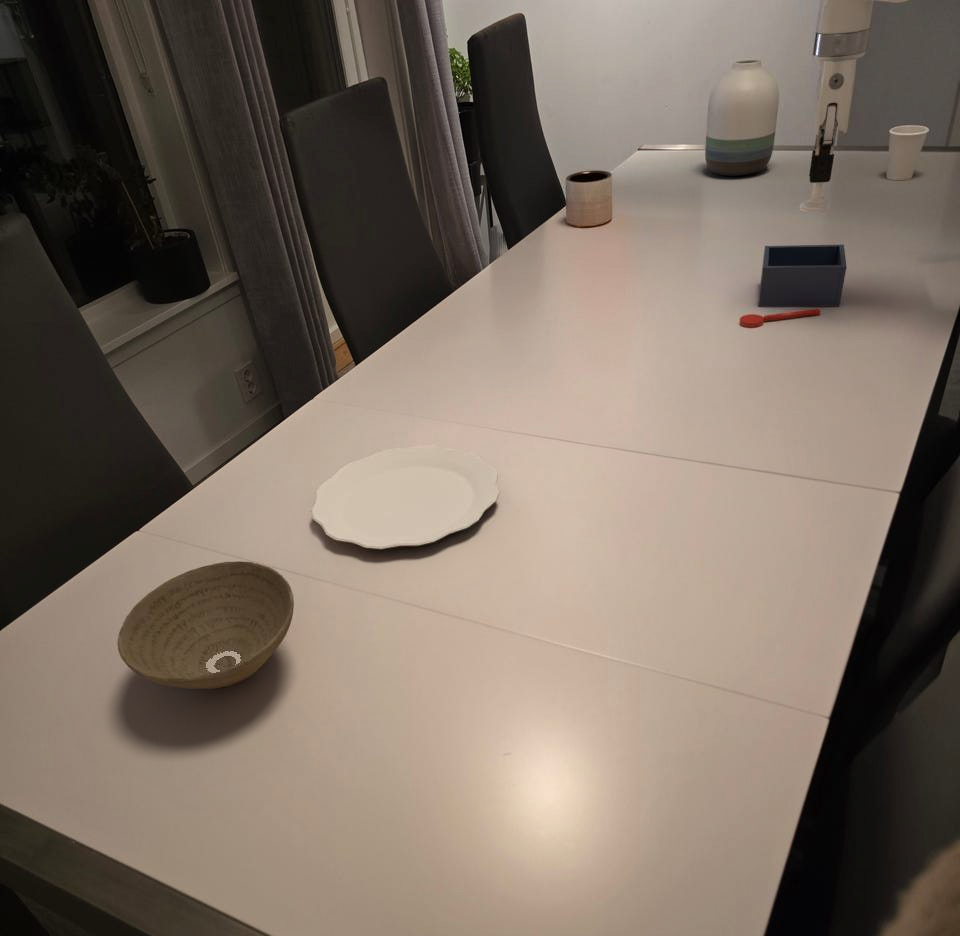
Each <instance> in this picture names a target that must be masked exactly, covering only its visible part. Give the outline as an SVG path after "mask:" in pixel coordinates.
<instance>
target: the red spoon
mask: <svg viewBox="0 0 960 936" xmlns="http://www.w3.org/2000/svg"><path fill="white" fill-rule="evenodd" d="M820 314H821V309H820V308H811V309H804V310H796V311H789V312H782V313H773V314H766V315H764V316H762V315H760V314H756V313H755V314H754V313H751V314H745V315H742V316H741V317H740V318H739V325H740V326H741V327H743V328H749V329H750V328H758V327H759V328H760V327H761V326H763V325H764V322H775V321H780V320H781V321H782V320H788V319H795V318H796V319H797V318H803V317H810V316H818V315H820Z"/></svg>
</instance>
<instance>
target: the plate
mask: <svg viewBox="0 0 960 936" xmlns="http://www.w3.org/2000/svg"><path fill="white" fill-rule="evenodd" d="M498 477H499V474H498V472H497V471H496V469H495V468H494V467H493V466H491V465H489V464H488V463H486V462H484V461H483V460H482V459H481V458H480V457H479V456H478V455H477V454H475V453H473V452H470V451H468V450H464V449H454V448H448V447H444V446H441V445H438V444H437V445H436V444H434V445H433V444H424V445H423V444H422V445H416V446H411V447H393V448H392V447H391V448H389V449H384V450H380V451H378V452H376V453H373V454H372V455H369V456H367V457H364V458H360V459H357V460H353V461H351V462H349V463H347V464H346V465H343V466H341V467H340V468H339V469H338V471H337V472H336V473H334V475H333V476H332V477H330V478H328V479H327V480H326V481H324V482H323V483H321V484H320V485H319V487H318V488H317V490H316V491H315V495H314V496H315V497H314V498H315V500H314V504H313V505H312V508H311V509H310V514H311V518H312V520H313V521H314V522H315V523H316V524H318V525H319V526H320V527H322V529H323V531H324V533H325V535H326V537H328V538H330V539H332V540H333V541H335V542H340V543H347V544H351V545H354V546H358V547H360V548H363V549H366V550H375V551H377V550H378V551H385V550H391V549H396V548H404V547H405V548H409V547H411V548H412V547H424V546H427V545H431V544H435V543H437V542H438V541H441V540H442V539H444V538H446V537H448V536H450V535H453V534H456V533H459V532H462V531H466V530H468V529H469V528H471V527H472V526H474V525H475V524H477V523H478V522H479V521H480V519H481V518H482V517H483V515H484V514H485V512H486V511H487V510H489V509H490V508H491V507H492V506H493V505H494V504H495V503H497V500H498V498H499V495H500V491H499V487H498V486H497V483H498Z"/></svg>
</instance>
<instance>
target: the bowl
mask: <svg viewBox="0 0 960 936" xmlns="http://www.w3.org/2000/svg"><path fill="white" fill-rule="evenodd" d="M294 609H295V601H294V594H293V591H292V588H291V585H290V584H289V582H288V580H287V579H286V578H285V577H284V576H283V575H282V574H281V573H279V572H278V571H277V570H275V569H274V568H272V567H270V566H267V565H263V564H261V563H258V562H257V563H256V562H253V561H242V560H239V561H224V562H218V563H216V562H215V563H212V564H208V565H204V566H200V567H197V568H193V569H190V570H188V571H186V572H184V573H180V574H178V575H176V576H175V577H172V578H170V579H168V580H167V581H165V582H163V583H162V584H160V585H159V586H157V587H155V588H154V589H153V590H152V591H150V592H148V593H147V594H146V595H145V596H144V597H142V599H140V600H139V602H137V603H136V604H135V605H134V606H133V607H132V609H131V610H130V612H129V613H128V614H127V615H126V617H125V619H124V621H123V622H122V625H121V627H120V629H119V632H118V636H117V650H118V655H119V656H120V658H121V659H122V661H123V662H124V664H125V665H126V666H127V667H128V668H129V669H130V670H131V671H132V672H134V674H135V673H136V674H137V675H139V676H141V677H143V678H144V679H147V680H149V681H152V682H154V683H157V684H160V685H163V686H167V687H170V688H171V687H172V688H180V689H191V690H195V689H196V690H202V689H203V690H211V689H220V688H224V687H229V686H231V685H232V686H233V685H234V684H238V683H239V682H242V681H244V680H246V679H247V678H249V677H251V676H252V675H253V674H255V673H256V672H257V671H258V670H259V669H260V668H262V667H263V665H264V664H265V663H266V662H267V660H269V658H271V656H272V655H273V654H274V653H275V651H276V650H277V649H278V647H279V646H280V645H281V643H282V642H283V640H285V637H286V636H287V633H288V632H289V629H290V626H291V623H292V620H293V616H294ZM225 651H229V652H230V651H234V652H237V654H240V656H241V657H240V659H241V661H240V663H238V664H236V659H235V658H234V657H232V656H224V657H222V658H220V659H219V660H217V661H216V663H215V665H214V667H215V668H216V669H217V670H220V672H216V673H211V672H209V671H208V670H207V669H208V668H206V662H208V660H209V659H210V658H211V659H212V658H213V656H214V655H217V653H218V654H220V652H221V653H223V652H225ZM235 664H236V665H235Z"/></svg>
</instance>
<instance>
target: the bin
mask: <svg viewBox="0 0 960 936" xmlns="http://www.w3.org/2000/svg"><path fill="white" fill-rule="evenodd" d="M845 251H846V250H845V244H802V245H801V244H799V245H797V244H796V245H794V244H793V245H764V251H763V259H762V268H761V275H760V283H759V284H760V285H759V296H758V297H759V298H758V307H821V308H822V307H823V308H824V307H826V308H827V307H829V308H830V307H832V308H833V307H840V305H841V299H842V293H843V288H844V283H845V278H846V272H847V258H846V252H845Z"/></svg>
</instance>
